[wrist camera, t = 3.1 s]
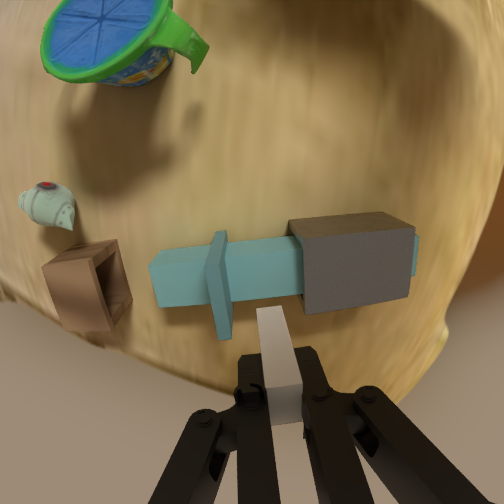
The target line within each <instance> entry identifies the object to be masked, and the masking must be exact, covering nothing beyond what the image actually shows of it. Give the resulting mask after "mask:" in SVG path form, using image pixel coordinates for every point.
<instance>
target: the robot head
mask: <svg viewBox="0 0 504 504" xmlns="http://www.w3.org/2000/svg"><path fill="white" fill-rule="evenodd" d="M18 207H19V208H21V209H22V210H24V211H25V212H26V213H27V214H28V215H29V217H30V218H31V220H32V221H34V222H36V223H37V224H40V225H43V226H55V227H61V228H65V229H68V230H71V231H73V224H74V217H75V210H74V207H75V199H74V196H73V194H72V192H71V191H70V190H69V189H68V188H66V187H64V186H63V185H60V184H57V183H53V182H42V183H39V184H37V185H36V186H35V187H34V188H32V189H31V190H26V191H25V192H23V193H21V194H20V196H19V202H18Z"/></svg>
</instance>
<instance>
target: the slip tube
mask: <svg viewBox="0 0 504 504" xmlns="http://www.w3.org/2000/svg"><path fill="white" fill-rule="evenodd" d="M418 242H419V236H418V235H416V234H415V241H414V253H413V263H412V271H411V276H415V271H416V263H417V253H418ZM148 267H149V271H150V275H151V279H152V283H153V287H154V291H155V295H156V298H157V302H158V306H159V308H162V307H177V306H190V305H202V304H211V306H212V311H213V316H214V321H215V326H216V331H217V336H218V340H229V339H232V324H233V302H235V301H244V300H254V299H263V298H272V297H280V296H288V295H296V294H303V276H302V252H301V245H300V243H299V242H298V240H297V239H296V237H295V236H285V237H275V238H266V239H257V240H248V241H239V242H230V243H228V240H227V233H226V231H218V232H215V235H214V238H213V241H212V244H211V245H203V246H195V247H186V248H178V249H169V250H161V251H160V252H159V253H158V254H157V256H156V257H155V258H154V259H153V261H152V262H151V263H150V264H149V266H148Z"/></svg>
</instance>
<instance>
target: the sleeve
mask: <svg viewBox="0 0 504 504" xmlns="http://www.w3.org/2000/svg"><path fill="white" fill-rule="evenodd" d="M289 229H290V236H295V237H296V239H297V240H298V242H299V243H300V245H301V252H302V276H303V294H297V295H298V298H299V300H300V303H301V305H302V308H303V310H304V313H305V315H310V314H317V313H323V312H330V311H336V310H342V309H348V308H354V307H359V306H365V305H370V304H376V303H381V302H386V301H391V300H396V299H401V298H405V297H408V294H409V287H410V279H411V271H412V263H413V253H414V241H415V227H414V226H412V225H410V224H407V223H405V222H403V221H401V220H399V219H397V218H395V217H392V216H390V215H388V214H386V213H384V212H374V213H361V214H348V215H336V216H325V217H314V218H303V219H293V220H289Z"/></svg>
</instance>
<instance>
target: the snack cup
mask: <svg viewBox="0 0 504 504" xmlns="http://www.w3.org/2000/svg"><path fill="white" fill-rule="evenodd" d="M172 8H173V0H62V1H61V3H60V4H59V5H58V6H57V7H56V9H55V10H54V11H53V13H52V14H51V16H50V17H49V19H48V21H47V22H46V24H45V26H44V32H43V35H42V39H41V45H40V53H41V59H42V62H43V67H44V69H45V70H46V72H47V73H50V74H51V75H53V76H54V77H56V78H58V79H60V80H63V81H66V82H69V83H90V82H91V83H93V82H96V83H103V84H109V85H115V86H126V87H132V86H141V85H144V84H145V83H147V82H149V81H150V80H152V79H154V78H155V77H156V76H158V75H159V74H161V72H162V71H163V70H165V68H166V67H167V66H168V65H169V64H170V63H171V61H172V59H173V55H174V51H175V52H177V53H178V54H180V55H182V56H184V57H186V58H188V59H189V60H190V61H191V69H192V71H191V73H192V74H195V73H196V71H197V70H198V68H199V66H200V65H201V63H202V61H203V60H204V58H205V56H206V54H207V52H208V50H209V45H208V44H207V43H206V42H205V41H204V40H203V39H202V38H201V37H200V36H199V35H198V34H197V32H196V31H195V30H194V29H193V28H192V27H190V26H189V24H187V23H186V22H185V21H184V20H183V19H182V18H180V17H179V16H178V15H176V14H175V13H174V12H173V11H172Z"/></svg>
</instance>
